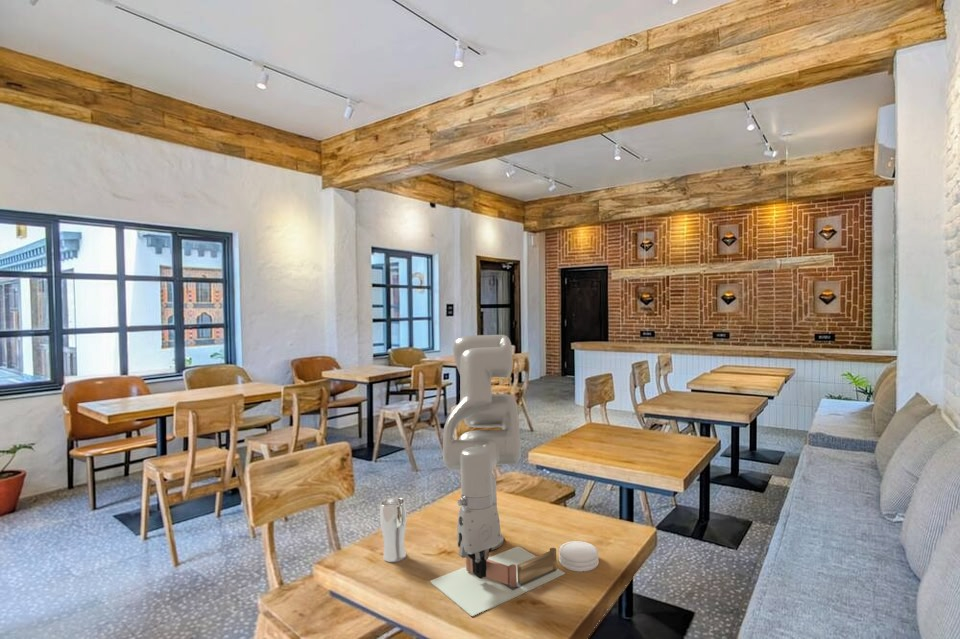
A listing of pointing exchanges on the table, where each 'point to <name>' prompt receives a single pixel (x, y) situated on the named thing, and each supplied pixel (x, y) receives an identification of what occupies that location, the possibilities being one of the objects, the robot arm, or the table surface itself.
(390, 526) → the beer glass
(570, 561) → the white short round cylinder
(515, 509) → the table surface
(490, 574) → the panel
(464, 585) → the board
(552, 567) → the fixed panel
